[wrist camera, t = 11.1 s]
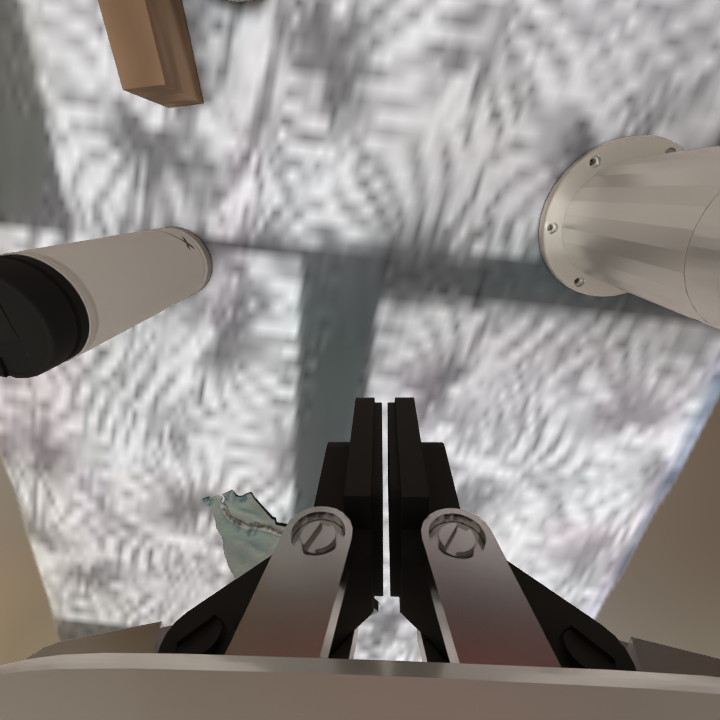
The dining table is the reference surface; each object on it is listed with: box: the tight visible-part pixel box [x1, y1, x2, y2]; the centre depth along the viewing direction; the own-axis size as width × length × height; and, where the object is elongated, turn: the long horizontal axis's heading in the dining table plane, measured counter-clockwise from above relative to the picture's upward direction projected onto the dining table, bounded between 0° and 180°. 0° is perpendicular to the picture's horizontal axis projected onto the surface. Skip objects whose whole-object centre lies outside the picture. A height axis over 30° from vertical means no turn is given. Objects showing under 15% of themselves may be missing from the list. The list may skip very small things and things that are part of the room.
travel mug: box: [0, 227, 212, 378], centre depth 27 cm, size 6×7×20 cm
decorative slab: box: [202, 490, 378, 615], centre depth 52 cm, size 26×24×2 cm
